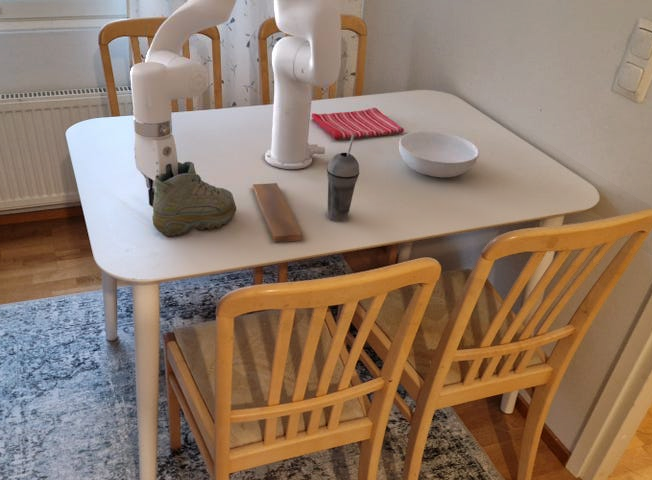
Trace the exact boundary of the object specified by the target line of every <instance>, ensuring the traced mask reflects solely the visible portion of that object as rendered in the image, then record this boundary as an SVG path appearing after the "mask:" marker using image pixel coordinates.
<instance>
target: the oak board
mask: <svg viewBox="0 0 652 480" xmlns="http://www.w3.org/2000/svg"><path fill="white" fill-rule="evenodd" d="M252 193H253V195H254V197H255V200H256V202H257V205H258V207H259V210H260V212H261V214H262V216H263V218H264V221H265V224H266V226H267V228H268V231H269V233H270V235H271V238H272V240H273V242H274V243H275V244H276V243H288V242H301V241H302V240H303V239H302V238H303V233H302V232H301V230H300V227H299V225H298V224H297V223H298V222H297V221H296V219H295V217H294V215H293V213H292V211H291V209H290V206H289V205H288V203H287V202H286V199H285V197H284V195H283V193H282V191H281V189H280V186H279V185H278V183H277V182H272V183H253V184H252Z"/></svg>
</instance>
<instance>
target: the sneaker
mask: <svg viewBox="0 0 652 480" xmlns="http://www.w3.org/2000/svg"><path fill="white" fill-rule="evenodd" d="M170 174H171V178H170V179H169V180H167V179H168V177H169V175H170ZM154 186H155V187H156V190H155V194H154V201H153V207H152V212H153V213H152V216H151V218H152V219H151V220H152V223H153V226H154V228H155V229H156V230H157V231H158V232H159V233H161V234H162V235H163V236H166V237H167V236H168V237H175V236H181V235H184V234H187V233H188V231H189V230H190V229H191V228H195V229H197V230H200V231H206V229H207V230H208V231H210V230H214V229H218V228H221V227H222V225H223V226H225V225H226V224H228V222H230V221H231V220H232V219H233V218H234V217H235V215H236V212H237V205H236V202H235V199H234V195H233V193H232V191H230V190H228V189H226V188H223V187H216V186H215V185H212V184H209V183H208V182H205V181H203V180H202V177H201V176H200V174H198V173H197V172H196V169H195V163H193V161H185V162H183V163H182V162H179V161H178V175H176V176H174V175H173V173H172V167H171V165H170V164H167V165H166V174H165V173H164V174H160V175H159V176H158V175H156V176H155V181H154Z"/></svg>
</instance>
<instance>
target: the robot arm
mask: <svg viewBox="0 0 652 480" xmlns="http://www.w3.org/2000/svg"><path fill="white" fill-rule="evenodd" d="M237 2H238V0H187V1H186V2H185V3H183V4H182V5H180V7H178V8H177V9H176V10H175V11H174V12H173V13H171V14H170V16H169V17H168V18H166V19H165V20H164V21H163V22H162V23H161V25H160V26H159V28H158V29H157V31H156V32H155V34H154V36H153V39H152V42H151V44H150V46H149V49H148V51H147V54H146V58H145V61H142V62H137V63H136V64H134V65H132V67H131V69H130V86H131V98H132V112H133V113H132V114H133V126H134V127H133V128H134V141H133V143H134V145H133V146H134V150H133V151H134V163H135V168H136V169H137V171H138V172H140V173H141V174H142V176H143V177H144V180H145V185H146V188H147V193H148V205H149V206H150V207H151V208H153V201H154V194H155V190H156V187H155V186H154V181H155V176H156V175H158V176H159V175H160V174H164V173H165V174H166V165H167V164H170V165H171V167H172V173H173V175H174V176H176V175H178V162H179V161H178V153H177V146H176V141H175V138H174V137H175V136H174V135H173V122H172V120H173V119H172V101H173V100H188V99H195V98H197V97H199V96H201V95H202V94H204V92H205V91H206V90H207V88H208V86H209V81H210V76H209V75H210V74H209V72H208V70H207V69H206V67H205V66H204V65H203V64H201V63H200V62H198V61H196V60H193V59H191V58H188V57H186V56H184V55H181V54H180V52H181V50H182V48H183V47H184V45H185V44H186V43H187V42H188V40H189V39H191V37H192V36H194V35H195V34H197V33H199V32H202V31H204V30H207V29H210V28H213V27H216V26H221V25H223V24H225V23H226V22H228V21H229V19H230V17H231V15H232V12H233V10H234V8H235V5H236V4H237ZM273 10H274V19H275V24H276V27H277V28H278V30H279V31H280V32H282V33H284V34H286V35H288V36H284V37H281V38H280V39H279V40H278V41H276V43H275V44H274V46H273V48H272V52H271V64H272V71H273V72H272V73H273V82H274V85H273V86H274V89H273V91H274V92H273V108H272V109H273V110H272V129H271V147H270V148H269V149H268V150H267V151H265V154H264V159H265V161H266V162H267V164H269V165H271V166H273V167H276V168H279V169H284V170H299V169H304V168H307V167H309V166H310V165H311V164H312V162H313V156H314V155H324V154H325V152H326V147H325V146H318V145H319V144H318V143H311V144H310V143H309V135H310V134H309V132H310V120H311V110H312V101H313V100H312V99H313V96H312V95H313V93H312V89H311V86H312V87H313V86H314V87H316V88H321V89H325V88H329V87H331V86H333V85H334V84H335V83H336V81H337V79H338V78H339V75H340V72H341V65H342V19H341V14H340V10H339V9H338V7H337V5H336V4H335V3H334V2H333V1H332V0H273ZM170 178H171V174H170V175H169V177H168V179H167V180H169V179H170Z"/></svg>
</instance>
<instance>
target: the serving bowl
mask: <svg viewBox="0 0 652 480" xmlns="http://www.w3.org/2000/svg"><path fill="white" fill-rule="evenodd" d="M398 142H399V143H398V148H399V149H398V151H399V155H400V157H401V159H402V160H403V162H404V163H405V165H407V166H408V167H409V168H410V169H412V170H413V171H415V172H417V173H419V174H422V175H426V176H430V177H435V178H436V177H437V178H452V177H457V176H460V175H463V174H466V173H467V172H468V171H470V170H471V169H472V168H473V166H474V165H475V164H476V162H477V160H478V158H479V156H480V150H479V147H477V145H475V144H474V143H473V142H471V141H470V140H468V139H466V138H463V137H462V136H458V135H455V134H452V133H446V132H443V131H442V132H441V131H435V130H433V131H432V130H417V131H412V132H408V133H406V134H404V135H402V136H401V137H400V139H399V141H398Z"/></svg>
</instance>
